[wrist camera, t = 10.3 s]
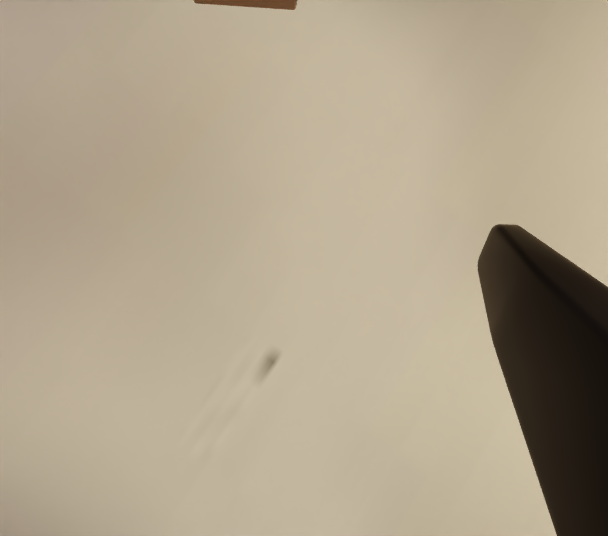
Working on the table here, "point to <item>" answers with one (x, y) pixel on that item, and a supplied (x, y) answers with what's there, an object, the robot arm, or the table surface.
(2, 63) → the table surface
